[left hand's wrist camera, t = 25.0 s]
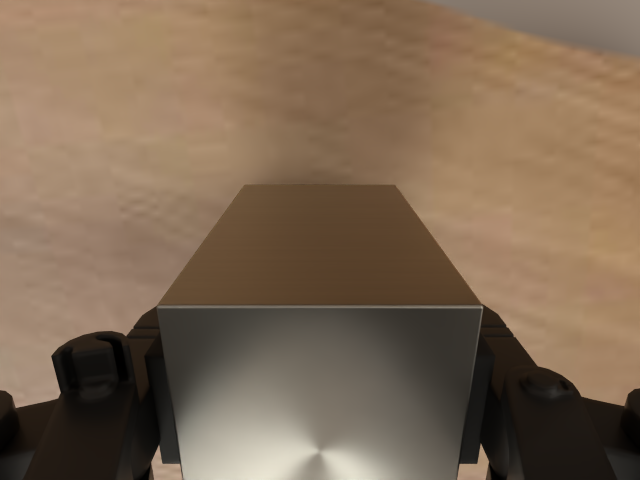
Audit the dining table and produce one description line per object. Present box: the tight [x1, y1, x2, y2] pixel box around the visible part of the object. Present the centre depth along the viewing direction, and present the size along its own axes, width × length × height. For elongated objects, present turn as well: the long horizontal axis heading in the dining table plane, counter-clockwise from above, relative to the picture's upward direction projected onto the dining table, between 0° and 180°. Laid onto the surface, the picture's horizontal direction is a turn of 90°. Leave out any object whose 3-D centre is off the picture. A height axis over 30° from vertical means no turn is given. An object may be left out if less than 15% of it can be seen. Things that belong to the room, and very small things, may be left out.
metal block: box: [157, 185, 483, 480], centre depth 12 cm, size 5×6×8 cm
